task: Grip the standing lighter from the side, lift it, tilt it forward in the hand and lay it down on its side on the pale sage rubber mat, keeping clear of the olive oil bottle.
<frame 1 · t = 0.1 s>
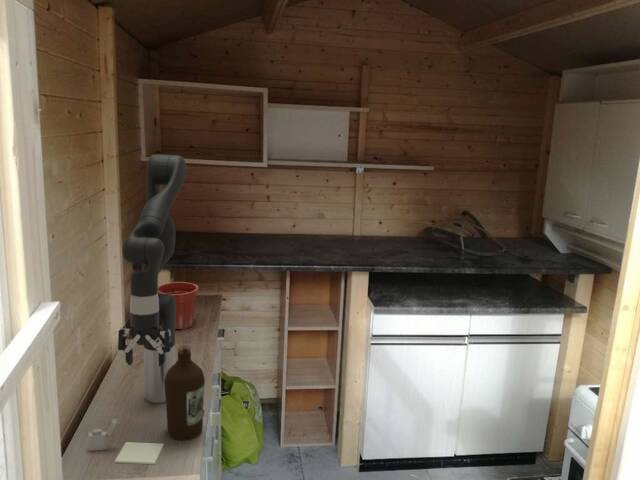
hand: (145, 364, 150), 17 cm above the worktop, tool pointing down, fingers open, 8 cm apart
flower pot: (177, 325, 222), on the worktop
mat: (140, 453, 139), on the worktop
lighter: (104, 448, 141), on the worktop
olive oil: (185, 431, 150), on the worktop
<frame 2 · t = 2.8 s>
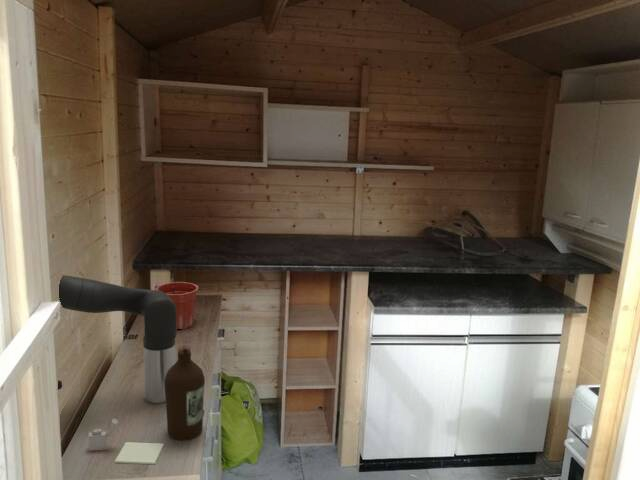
hand: (53, 393, 137), 15 cm above the worktop, tool horizontal, fingers open, 8 cm apart
nothing on the worktop moved.
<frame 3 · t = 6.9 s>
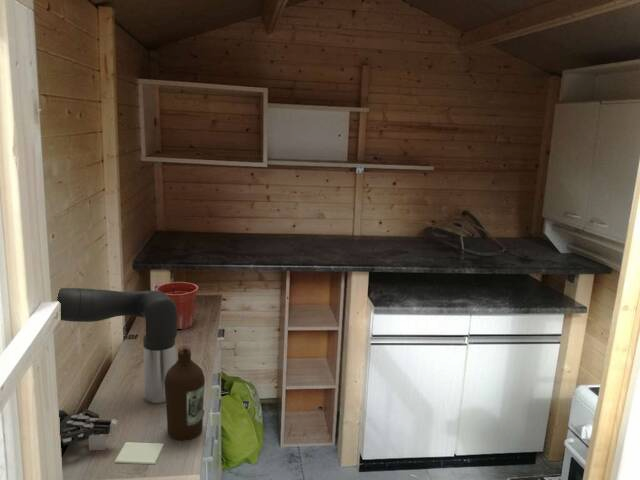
hand: (110, 427, 139), 6 cm above the worktop, tool horizontal, fingers closed on lighter, 1 cm apart
lighter: (104, 448, 140), on the worktop, touching gripper
everything else where it was.
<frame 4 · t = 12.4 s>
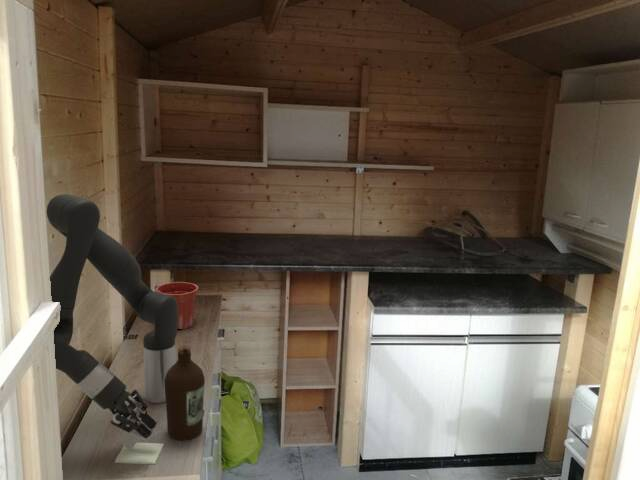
hand: (151, 430, 138), 7 cm above the worktop, tool tilted 45°, fingers open, 3 cm apart
lighter: (129, 448, 139), point 1 cm above the worktop, touching gripper, mat
everything else where it was.
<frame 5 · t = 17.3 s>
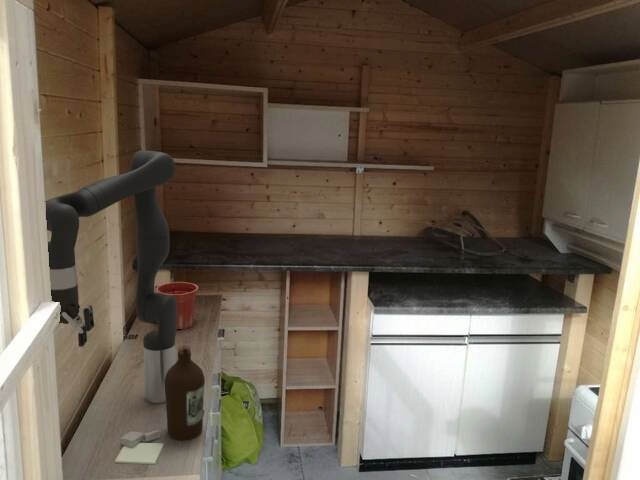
hand: (64, 344, 135), 28 cm above the worktop, tool pointing down, fingers open, 8 cm apart
lighter: (130, 444, 140), point 2 cm above the worktop, touching mat
everything else where it was.
at the end: lighter tilted 96°; lighter inside the target area (2.5 cm from its centre), point 1.7 cm above the worktop; lighter touching mat, worktop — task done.
